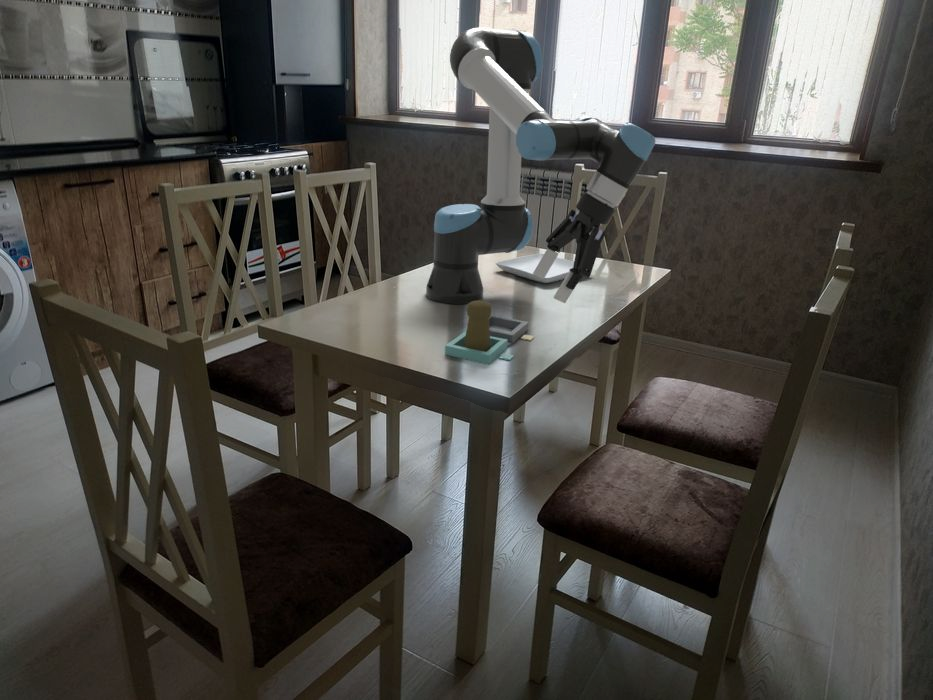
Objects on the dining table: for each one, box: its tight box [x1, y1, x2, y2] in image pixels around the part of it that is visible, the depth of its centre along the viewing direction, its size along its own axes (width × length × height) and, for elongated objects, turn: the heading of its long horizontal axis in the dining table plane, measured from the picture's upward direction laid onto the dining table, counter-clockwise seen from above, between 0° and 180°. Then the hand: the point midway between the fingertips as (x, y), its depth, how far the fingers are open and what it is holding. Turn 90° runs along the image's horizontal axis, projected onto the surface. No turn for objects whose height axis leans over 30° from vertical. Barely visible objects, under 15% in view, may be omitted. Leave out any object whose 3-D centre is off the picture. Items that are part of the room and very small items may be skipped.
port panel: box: [444, 314, 536, 365], centre depth 145 cm, size 13×23×2 cm, turn 155°
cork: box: [463, 300, 492, 352], centre depth 139 cm, size 6×6×11 cm
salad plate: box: [495, 253, 587, 284], centre depth 200 cm, size 21×21×3 cm
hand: (548, 288), depth 143 cm, fingers open, 13 cm apart
